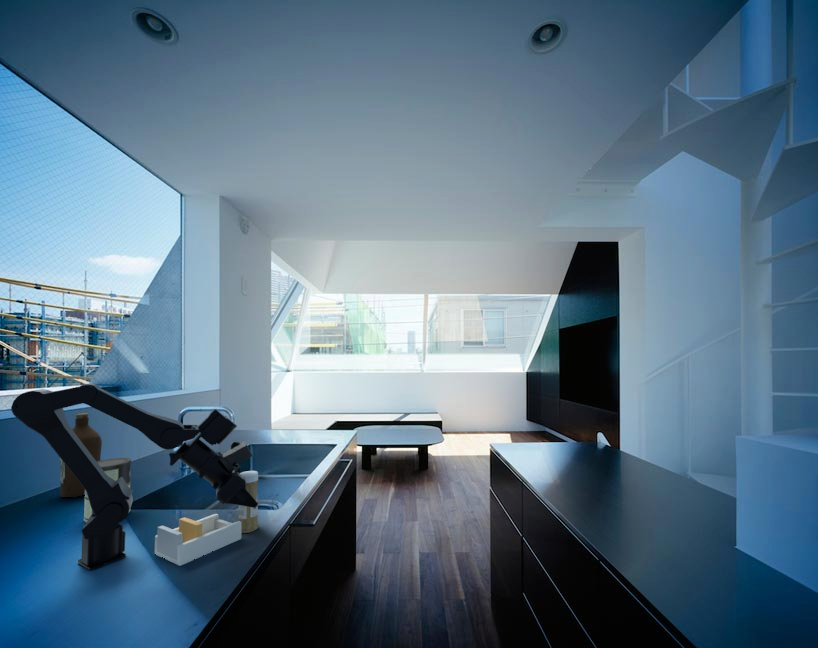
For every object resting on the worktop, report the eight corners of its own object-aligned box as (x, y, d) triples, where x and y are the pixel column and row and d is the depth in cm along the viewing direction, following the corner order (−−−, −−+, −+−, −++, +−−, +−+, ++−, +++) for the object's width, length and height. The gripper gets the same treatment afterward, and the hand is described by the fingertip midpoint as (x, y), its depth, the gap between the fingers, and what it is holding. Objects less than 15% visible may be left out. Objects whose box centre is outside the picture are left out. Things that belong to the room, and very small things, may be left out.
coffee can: (119, 506, 118) (121, 456, 119) (137, 512, 113) (138, 460, 114) (76, 518, 110) (78, 464, 111) (92, 526, 104) (94, 469, 105)
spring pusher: (196, 549, 87) (196, 525, 87) (178, 542, 91) (179, 519, 91) (202, 547, 88) (202, 523, 88) (184, 540, 92) (184, 517, 92)
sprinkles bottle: (260, 530, 99) (260, 473, 100) (240, 535, 96) (240, 476, 97) (255, 524, 102) (255, 469, 103) (236, 528, 100) (236, 472, 101)
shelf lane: (179, 565, 83) (180, 536, 83) (154, 554, 88) (155, 526, 88) (241, 538, 94) (241, 512, 95) (215, 529, 100) (215, 505, 100)
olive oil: (101, 485, 138) (103, 410, 140) (99, 493, 130) (102, 413, 132) (59, 492, 132) (62, 413, 134) (55, 501, 124) (58, 417, 125)
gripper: (233, 439, 91) (285, 482, 95) (228, 427, 107) (272, 464, 112) (193, 482, 87) (249, 524, 91) (193, 462, 103) (241, 499, 108)
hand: (254, 500), depth 100 cm, fingers open, 9 cm apart
